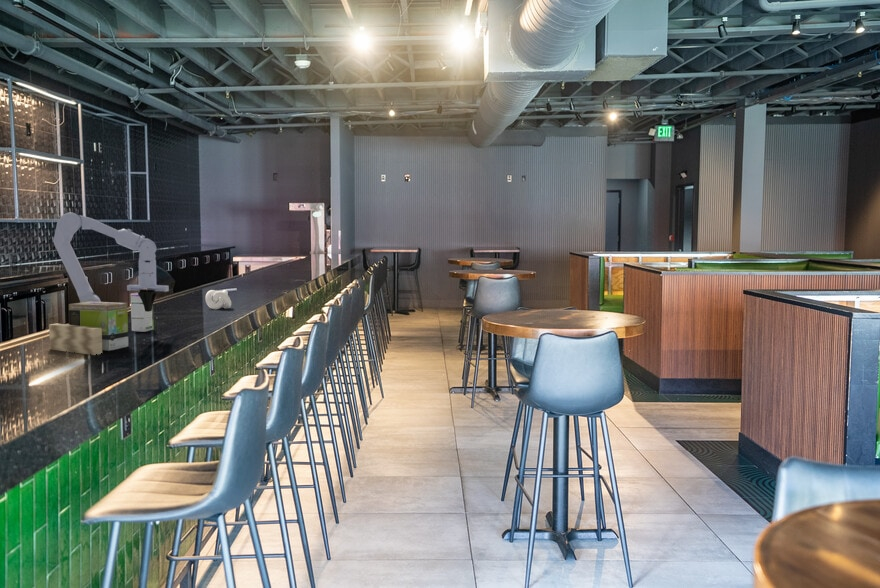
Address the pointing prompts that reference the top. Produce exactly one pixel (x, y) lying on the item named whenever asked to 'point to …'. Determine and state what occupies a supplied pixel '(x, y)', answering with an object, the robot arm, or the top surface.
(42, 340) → the top surface
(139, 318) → the syrup box
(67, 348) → the birch board
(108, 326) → the tea box
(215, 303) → the white curved lump
